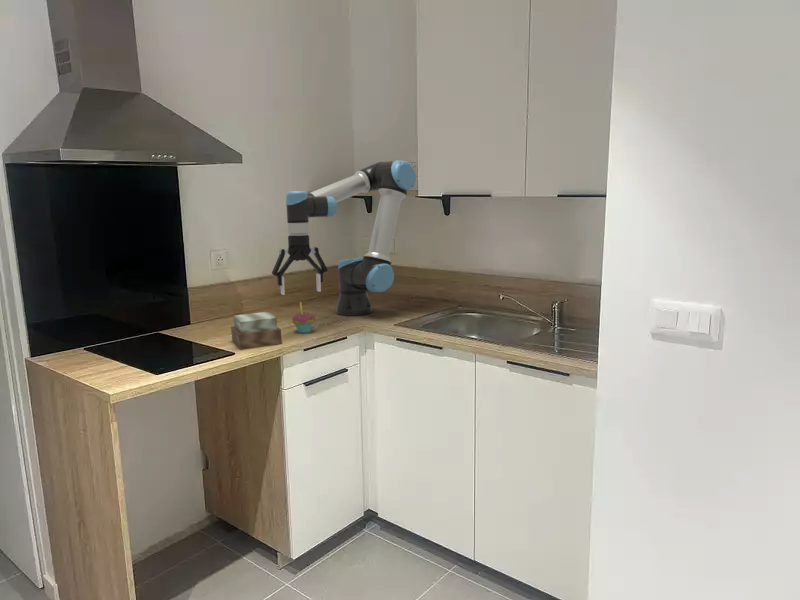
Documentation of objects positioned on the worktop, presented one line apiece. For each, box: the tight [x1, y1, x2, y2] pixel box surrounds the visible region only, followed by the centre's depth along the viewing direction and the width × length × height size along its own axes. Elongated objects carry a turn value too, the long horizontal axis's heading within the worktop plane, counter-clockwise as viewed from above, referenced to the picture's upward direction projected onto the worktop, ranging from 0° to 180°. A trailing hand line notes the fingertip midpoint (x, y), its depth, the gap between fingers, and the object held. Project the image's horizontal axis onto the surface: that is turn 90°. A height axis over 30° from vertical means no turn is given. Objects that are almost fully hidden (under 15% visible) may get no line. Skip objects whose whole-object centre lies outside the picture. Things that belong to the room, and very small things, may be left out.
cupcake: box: [291, 300, 316, 334], centre depth 213 cm, size 9×8×12 cm
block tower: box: [230, 311, 283, 350], centre depth 199 cm, size 14×14×9 cm
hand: (301, 292), depth 211 cm, fingers open, 13 cm apart
